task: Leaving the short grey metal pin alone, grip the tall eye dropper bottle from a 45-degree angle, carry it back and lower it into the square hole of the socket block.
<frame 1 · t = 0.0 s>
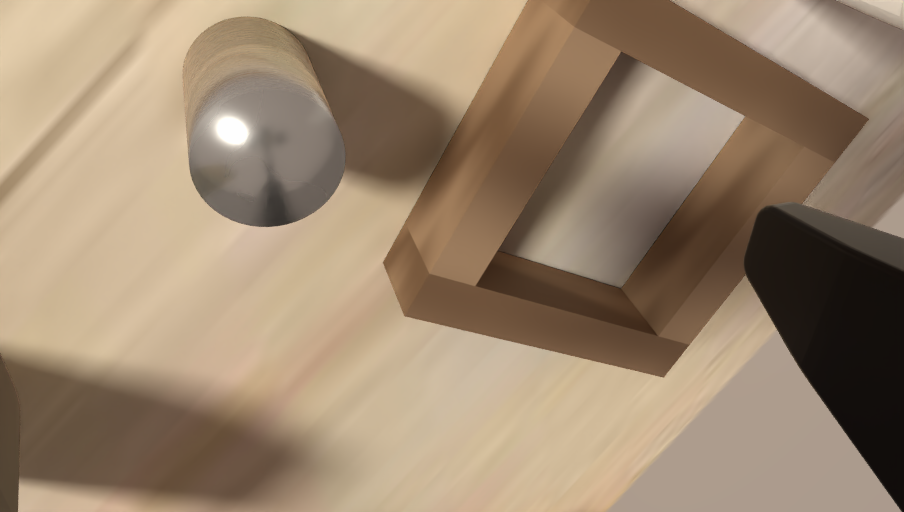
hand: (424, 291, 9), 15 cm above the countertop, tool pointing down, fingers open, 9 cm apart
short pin: (249, 79, 22), on the countertop
socket block: (601, 171, 28), on the countertop
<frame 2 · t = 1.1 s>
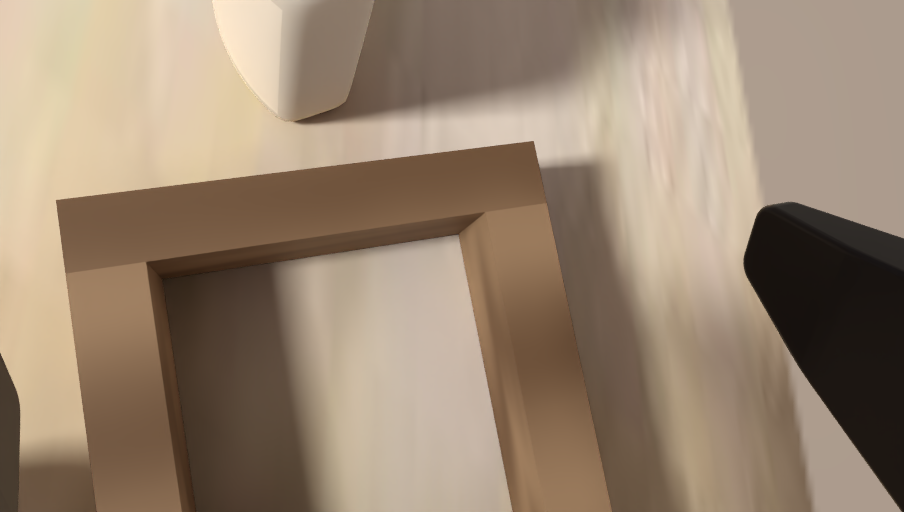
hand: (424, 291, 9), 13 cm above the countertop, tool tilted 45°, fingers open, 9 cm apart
eye dropper bottle: (280, 38, 23), on the countertop
socket block: (343, 403, 22), on the countertop
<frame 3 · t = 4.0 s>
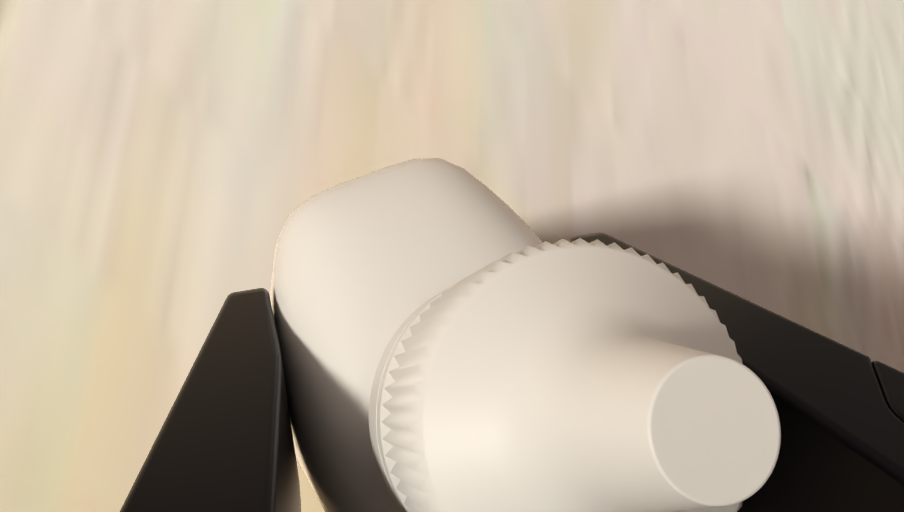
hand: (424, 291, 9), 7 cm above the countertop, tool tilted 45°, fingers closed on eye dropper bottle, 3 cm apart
eye dropper bottle: (371, 404, 15), on the countertop, touching gripper
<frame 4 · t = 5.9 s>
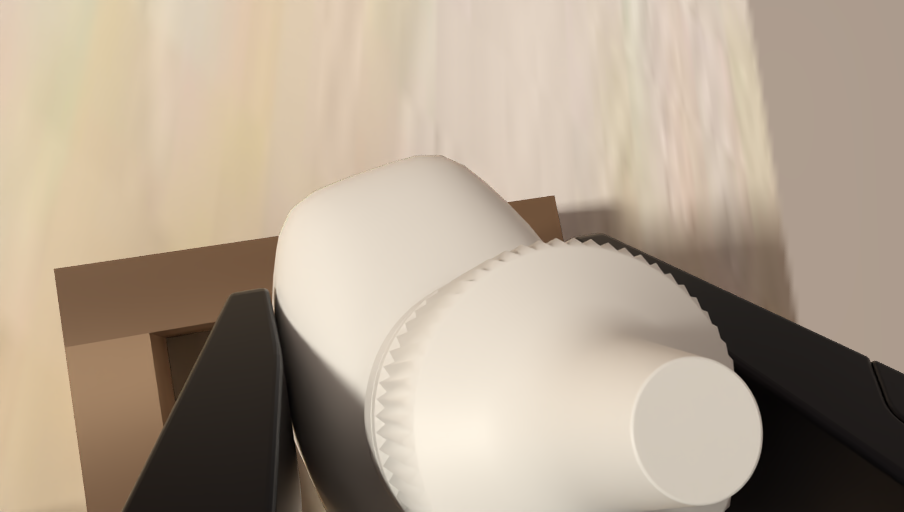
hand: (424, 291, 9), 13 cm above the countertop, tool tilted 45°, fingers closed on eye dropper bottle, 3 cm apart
eye dropper bottle: (373, 397, 15), point 6 cm above the countertop, touching gripper
socket block: (353, 464, 21), on the countertop
when the fingers open (8 cm above the countertop, at t = 7.7 s): eye dropper bottle drops 1 cm, resting in socket block.
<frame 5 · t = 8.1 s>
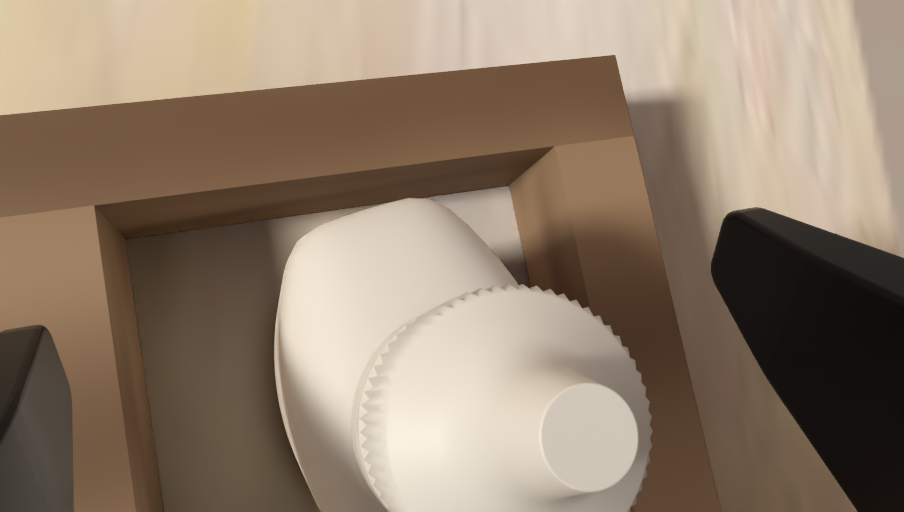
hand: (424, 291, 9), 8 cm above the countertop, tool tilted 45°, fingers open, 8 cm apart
eye dropper bottle: (363, 406, 17), resting in socket block
socket block: (363, 402, 17), on the countertop
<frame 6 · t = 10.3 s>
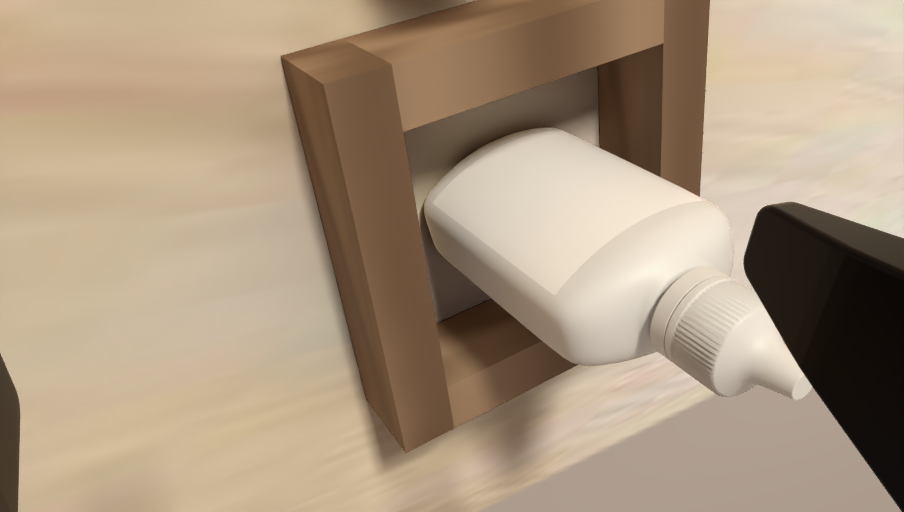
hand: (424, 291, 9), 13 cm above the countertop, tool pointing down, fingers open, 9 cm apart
eye dropper bottle: (491, 185, 25), resting in socket block
socket block: (497, 185, 25), on the countertop
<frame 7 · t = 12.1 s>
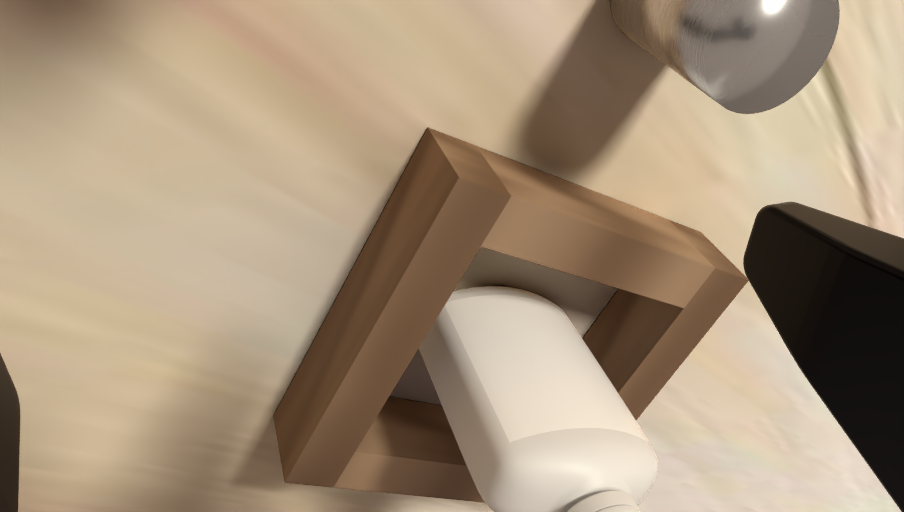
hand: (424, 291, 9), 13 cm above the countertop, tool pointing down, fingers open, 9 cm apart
eye dropper bottle: (487, 317, 28), resting in socket block
socket block: (491, 321, 28), on the countertop
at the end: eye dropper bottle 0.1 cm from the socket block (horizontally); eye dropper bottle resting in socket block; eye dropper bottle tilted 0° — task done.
